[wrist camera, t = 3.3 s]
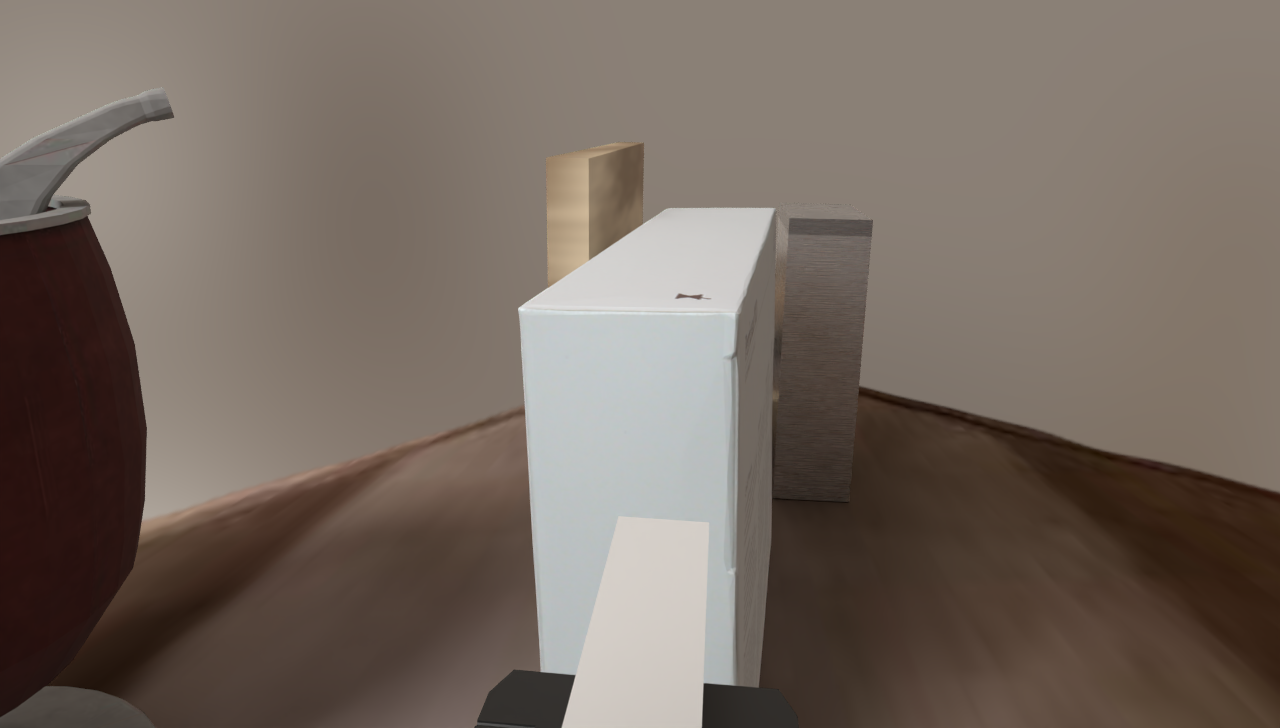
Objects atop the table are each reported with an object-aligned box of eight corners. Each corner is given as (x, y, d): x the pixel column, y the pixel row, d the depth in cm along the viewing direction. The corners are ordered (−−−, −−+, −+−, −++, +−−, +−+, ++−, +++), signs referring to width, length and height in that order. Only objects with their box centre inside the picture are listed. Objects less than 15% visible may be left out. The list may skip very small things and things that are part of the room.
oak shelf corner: (764, 436, 56) (780, 145, 51) (789, 628, 35) (820, 162, 30) (616, 429, 57) (618, 142, 52) (552, 613, 36) (546, 157, 31)
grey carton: (831, 447, 54) (850, 204, 50) (849, 502, 46) (872, 220, 43) (765, 444, 55) (779, 203, 51) (772, 498, 47) (789, 218, 43)
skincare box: (658, 534, 43) (665, 203, 38) (771, 545, 42) (791, 207, 38) (526, 897, 23) (511, 292, 19) (737, 933, 22) (772, 305, 18)
